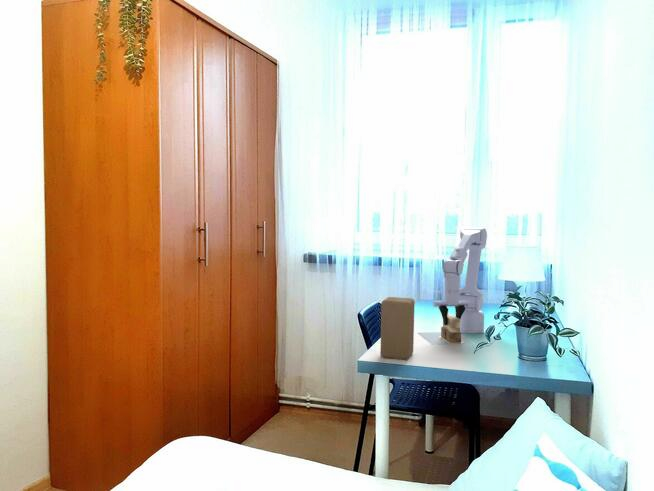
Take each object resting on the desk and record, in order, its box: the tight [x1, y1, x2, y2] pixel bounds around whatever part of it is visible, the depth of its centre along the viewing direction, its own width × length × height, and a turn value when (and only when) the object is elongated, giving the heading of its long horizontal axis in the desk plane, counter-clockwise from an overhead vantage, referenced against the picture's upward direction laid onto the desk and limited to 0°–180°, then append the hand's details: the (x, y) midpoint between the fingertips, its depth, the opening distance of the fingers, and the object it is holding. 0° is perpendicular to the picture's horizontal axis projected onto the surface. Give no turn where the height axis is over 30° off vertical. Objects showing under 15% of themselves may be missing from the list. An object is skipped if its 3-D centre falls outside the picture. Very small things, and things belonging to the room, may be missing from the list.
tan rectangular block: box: [442, 314, 460, 332], centre depth 223 cm, size 4×10×5 cm, turn 7°
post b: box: [446, 330, 462, 343], centre depth 220 cm, size 4×4×4 cm
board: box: [417, 331, 473, 346], centre depth 226 cm, size 16×20×1 cm
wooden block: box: [380, 296, 416, 361], centre depth 198 cm, size 10×10×20 cm
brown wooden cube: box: [440, 326, 447, 339], centre depth 226 cm, size 4×4×4 cm
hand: (451, 324), depth 223 cm, fingers open, 4 cm apart
